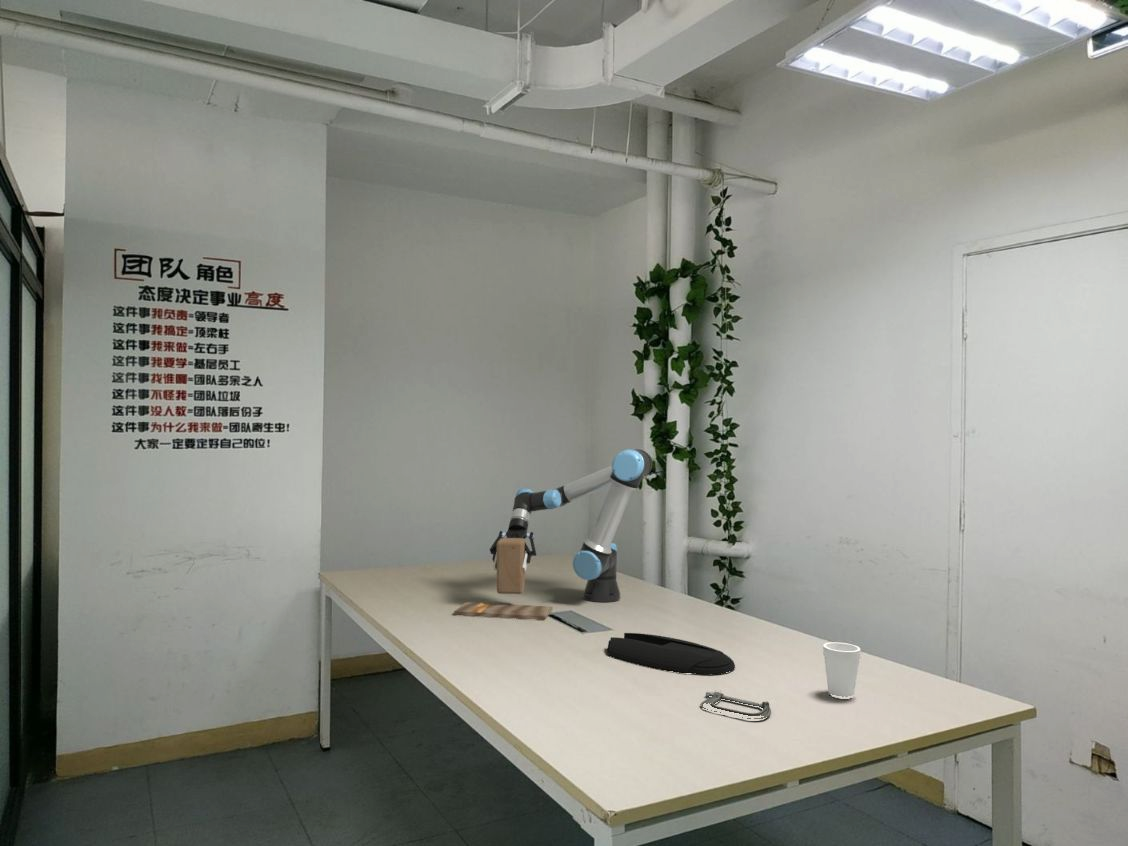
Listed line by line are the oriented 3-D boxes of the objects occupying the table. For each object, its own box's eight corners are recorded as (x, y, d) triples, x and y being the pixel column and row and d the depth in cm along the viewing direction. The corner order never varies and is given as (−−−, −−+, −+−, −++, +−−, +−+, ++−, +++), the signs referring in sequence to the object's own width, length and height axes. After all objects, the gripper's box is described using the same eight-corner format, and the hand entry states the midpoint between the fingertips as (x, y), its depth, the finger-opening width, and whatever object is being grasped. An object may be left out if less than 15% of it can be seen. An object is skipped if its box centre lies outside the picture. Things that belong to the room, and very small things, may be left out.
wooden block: (522, 594, 308) (522, 541, 307) (496, 594, 308) (496, 541, 308) (525, 588, 318) (525, 537, 317) (500, 588, 318) (499, 537, 318)
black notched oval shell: (710, 683, 226) (711, 666, 226) (593, 656, 251) (594, 639, 251) (750, 664, 246) (750, 647, 246) (637, 640, 271) (638, 625, 271)
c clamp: (684, 707, 207) (684, 697, 207) (719, 691, 220) (719, 681, 220) (755, 728, 194) (756, 717, 194) (788, 710, 207) (789, 699, 207)
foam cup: (830, 687, 224) (831, 640, 224) (864, 695, 218) (865, 646, 218) (817, 696, 216) (817, 647, 216) (851, 704, 210) (852, 654, 210)
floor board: (552, 610, 309) (552, 606, 309) (544, 620, 294) (544, 615, 294) (466, 605, 315) (466, 601, 315) (454, 615, 299) (454, 610, 299)
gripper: (549, 529, 325) (540, 575, 310) (492, 527, 330) (481, 573, 315) (546, 517, 320) (537, 564, 305) (489, 516, 324) (477, 562, 310)
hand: (509, 569), depth 310 cm, fingers closed on wooden block, 11 cm apart
